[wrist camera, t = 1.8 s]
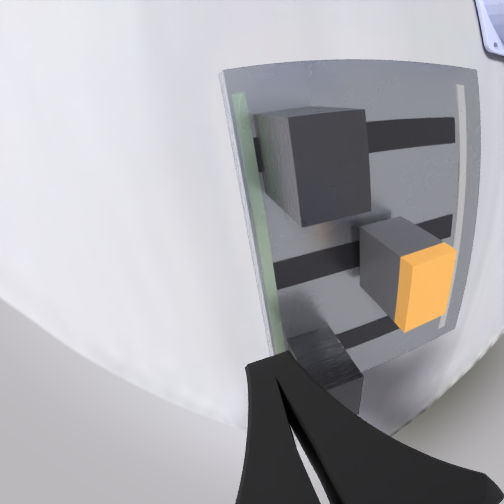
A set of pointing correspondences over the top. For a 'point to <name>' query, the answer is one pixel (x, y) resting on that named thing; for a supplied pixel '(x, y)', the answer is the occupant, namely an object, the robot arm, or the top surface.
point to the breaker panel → (387, 181)
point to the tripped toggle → (406, 271)
